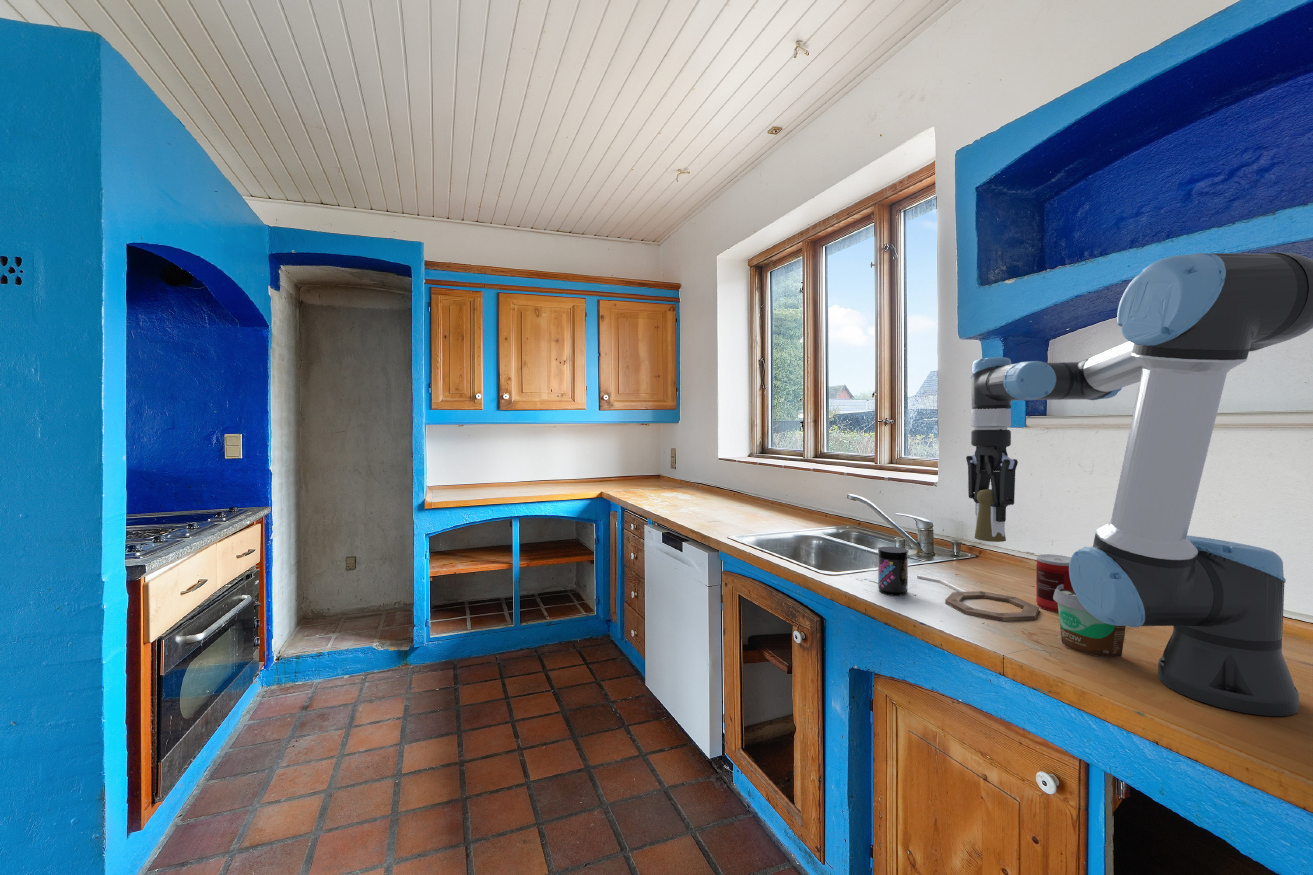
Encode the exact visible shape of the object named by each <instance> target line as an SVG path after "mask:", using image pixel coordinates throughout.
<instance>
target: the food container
mask: <svg viewBox="0 0 1313 875" xmlns="http://www.w3.org/2000/svg"><path fill="white" fill-rule="evenodd" d="M1053 599H1054V600H1055V601H1056V602H1058V611H1059V612H1058V618H1059V619H1058V620H1059V630H1060V639H1061V641H1060V642H1061V643H1062V645H1064V646H1065V647H1067V648H1068V649H1070V650H1073V651H1076V652H1079V653H1082V654H1087V655H1089V656H1090V655H1091V656H1095V657H1101V658H1102V657H1103V658H1121V657H1123V649H1124V643H1125V636H1126V635H1125V634H1126V628H1127V626H1119V625H1109V624H1106V623H1103V622H1101V621H1099V620H1098V619H1096V618H1095V617H1093V616H1092V615H1091V614H1090V613H1089V612H1088V611H1087V610H1086V609H1085V608H1084V607H1083V606H1082V604H1081V603H1080V601H1079V600H1078V598H1077V596H1076V593H1075V592H1072V591H1068V590H1065V589H1064V585H1063V584H1062V585H1059V586H1057V589H1056V590H1055V592H1054V596H1053Z"/></svg>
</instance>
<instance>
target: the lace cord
mask: <svg viewBox="0 0 1313 875" xmlns="http://www.w3.org/2000/svg"><path fill="white" fill-rule="evenodd" d="M916 578H917V579H922V580H926V581H931V582H934V583H935V582H936V583H940V584H942V585H944V586H946V587H948V588H950V589H952V590H954V591H955V592H967V591H966V590H964V589H963V588H960V587H958V586H956V585H953V584H951V583H950V582H948V581H945V580H944V579H941V578H940V579H939V578H935V577H930V576H925V575H921V574H920V575H919V574H918V575H916Z"/></svg>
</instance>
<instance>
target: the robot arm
mask: <svg viewBox="0 0 1313 875" xmlns="http://www.w3.org/2000/svg"><path fill="white" fill-rule="evenodd" d="M1125 288H1126V289H1125V290H1124V292H1123V294H1122V296H1121V299H1120V301H1119V304H1118V307H1117V315H1116V316H1117V317H1116V318H1117V325H1118V326H1119V327H1121V328H1120V330H1119V331H1120V334H1121V335H1122V337H1123V338H1124V339H1126V340H1127V341H1125V342H1123V343H1120V344H1118V345H1116V346H1114V347H1111V348H1109V349H1107V350H1105V351H1104V350H1103V352H1100V353H1097V354H1095V355H1093V356H1091V357H1088V358H1086V359H1083V360H1080V361H1074V362H1072V361H1070V362H1069V361H1068V362H1067V361H1066V362H1065V361H1063V362H1045V361H1044V362H1043V361H1040V360H1029V361H1028V360H1026V361H1020V362H1017V363H1012V360H1011V358H1009V357H1001V356H1000V357H996V356H995V357H986V358H978V359H976V360H974V361H973V363H972V366H971V368H972V369H971V376H970V381H971V385H970V386H971V409H970V410H971V413H970V414H971V416H970V418H971V419H970V421H971V422H970V423H971V424H970V426H971V427H972V428H974V429H972V430H971V431H970V433H971V434H970V435H971V438H970V440H971V442H970V444H971V446H972V447H975V451H974V454H972V455H966V457H965V458H966V460H965V461H966V463H967V478H968V480H967V483H968V484H967V485H968V486H967V487H968V498H969V499H972V500H973V501H974V502H975V518H976V519H975V522H976V524H977V518H978V512H979V505H980V504H979V502H978V500H977V493H978V492H979V491H980V490H984V489H990V488H991V489H992V495H993V502H994V504H991V528H992V536H993V537H995V536H996V534H997V532H999V533H1001V534H1002V536H1005V537H1006V532H1005V529H1006V527H1005V525H1006V523H1005V522H1006V521H1007V508H1008V506H1013V505H1014V504H1015V495H1016V494H1015V493H1016V492H1015V490H1016V470H1017V466H1018V463H1019V462H1018V458H1017V459H1015V458H1014V459H1013V458H1010V457H1009V456H1008V451H1007V447H1010V446H1011V445H1012V431H1011V430H1010V429H1008V428H1009V427H1011V426H1012V425H1011V424H1012V420H1011V419H1012V418H1011V417H1012V416H1011V415H1012V410H1011V409H1012V401H1050V400H1051V401H1054V400H1056V401H1057V400H1061V401H1062V400H1087V401H1097V400H1098V401H1099V400H1104V399H1105V400H1107V399H1110V398H1111V399H1112V398H1114V397H1115V396H1118V395H1117V394H1118V393H1119V392H1121V391H1122V389H1123V388H1125V387H1128V386H1131V385H1134V384H1137V383H1139V384H1138V388H1137V389H1138V390H1137V393H1136V398H1135V402H1134V407H1133V412H1132V413H1133V414H1132V418H1131V422H1130V427H1129V433H1128V437H1127V441H1126V446H1125V450H1124V456H1123V461H1122V466H1121V469H1120V470H1121V471H1120V476H1119V479H1118V484H1117V489H1116V494H1115V500H1114V503H1113V509H1112V513H1111V519H1110V521H1109V522H1107V523H1105V524H1102V525H1100V526H1098V527H1097V528H1096V530H1095V533H1094V534H1095V535H1094V539H1093V545H1092V546H1084V547H1081V548H1079V549H1078V550H1076V551H1075V552H1073V554H1072V555H1071V556H1070V557H1071V559H1070V564H1069V575H1070V581H1071V584H1072V587H1073V590H1074V592H1075V593H1076V596H1077V598H1078V600H1079V601H1080V603H1081V604H1082V606H1083V607H1084V608H1085V609H1086V610H1087V611H1088V612H1089V613H1090V614H1091V615H1092V616H1093V617H1095V618H1096V619H1098V620H1099V621H1101V622H1103V623H1106V624H1109V625H1119V626H1126V627H1129V628H1139V627H1172V626H1173V630H1172V634H1171V636H1170V637H1169V640H1168V641H1167V644H1166V645H1165V648H1164V650H1163V653H1162V656H1161V657H1160V658H1159V660H1158V663H1157V678H1158V680H1159V681H1160V682H1161V683H1162V684H1163V685H1165V686H1166V687H1167V688H1169V689H1171V690H1172V691H1174V692H1177V693H1179V694H1181V695H1182V696H1185V697H1187V698H1190V699H1193V700H1196V701H1199V702H1201V703H1205V704H1208V705H1211V706H1214V707H1218V708H1221V709H1225V710H1229V711H1233V712H1239V713H1244V714H1249V715H1250V714H1251V715H1254V716H1255V715H1257V716H1266V717H1286V716H1287V717H1288V716H1292V715H1295V714H1297V713H1299V711H1300V694H1299V691H1298V689H1297V688H1296V686H1295V684H1294V681H1293V679H1292V676H1291V673H1290V670H1289V668H1288V665H1287V662H1286V660H1285V657H1284V655H1283V629H1284V628H1283V627H1284V626H1283V625H1284V624H1283V623H1284V603H1285V602H1284V601H1285V599H1284V598H1285V584H1286V582H1287V581H1286V580H1287V579H1285V576H1284V562H1283V559H1282V558H1281V556H1280V555H1279V554H1277V553H1276V552H1274V551H1273V550H1270V549H1266V548H1262V547H1258V546H1254V545H1250V544H1245V543H1238V542H1233V541H1227V540H1224V539H1223V540H1222V539H1215V538H1208V537H1202V536H1197V535H1196V536H1194V535H1188V533H1189V528H1190V525H1191V521H1192V518H1193V513H1194V508H1195V505H1196V504H1195V503H1196V499H1197V495H1198V491H1199V488H1200V485H1201V480H1202V477H1203V476H1202V475H1203V471H1204V467H1205V463H1206V461H1207V460H1206V459H1207V456H1208V455H1207V454H1208V451H1209V447H1210V443H1211V440H1212V435H1213V431H1214V427H1215V422H1216V419H1217V414H1218V410H1219V406H1220V402H1221V398H1222V394H1223V391H1224V387H1225V386H1224V385H1225V382H1226V378H1227V375H1228V373H1229V372H1230V371H1231V370H1233V369H1234V368H1237V366H1240V365H1241V364H1244V363H1245V362H1246V361H1247V360H1248V356H1249V353H1251V352H1254V351H1258V350H1262V349H1264V348H1268V347H1271V346H1273V345H1277V344H1281V343H1283V342H1286V341H1290V340H1292V339H1295V338H1297V337H1299V336H1302V335H1304V334H1306V333H1308V332H1309V331H1311V330H1312V329H1313V258H1310V257H1308V256H1305V255H1302V254H1301V255H1300V254H1297V253H1293V252H1266V253H1260V252H1259V253H1254V252H1253V253H1248V252H1247V253H1242V252H1241V253H1240V252H1239V253H1230V252H1227V253H1222V252H1221V253H1220V252H1219V253H1217V252H1216V253H1215V252H1213V253H1211V252H1208V253H1207V252H1206V253H1205V252H1198V253H1190V254H1182V255H1173V256H1168V257H1164V258H1161V259H1158V260H1157V261H1154V262H1152V263H1150V264H1149V265H1148V266H1146V267H1145V268H1143V269H1142V271H1141V272H1140V273H1139V274H1137V275H1136V276H1134V277H1133V278H1132V280H1131V281H1130V283H1129V284H1128V285H1127V287H1125ZM990 486H991V487H990ZM999 500H1000V501H999Z"/></svg>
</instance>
